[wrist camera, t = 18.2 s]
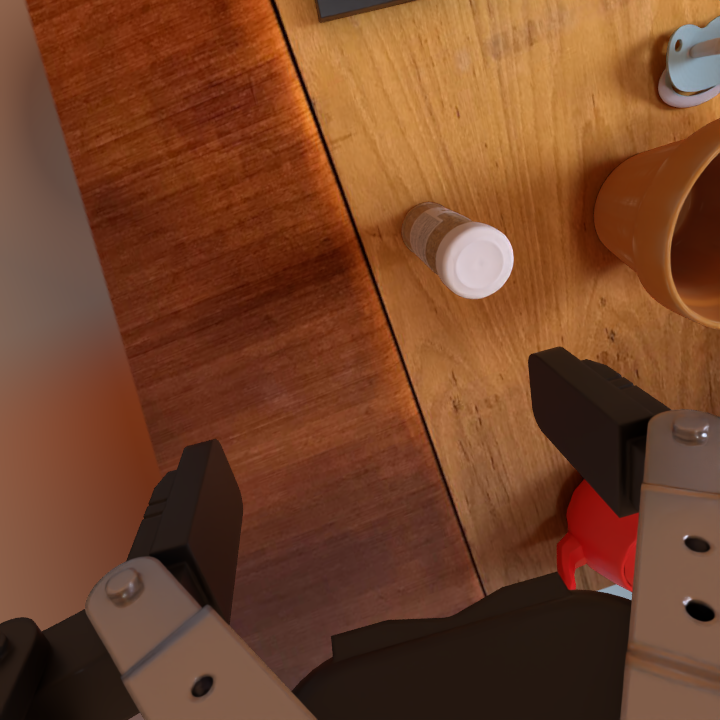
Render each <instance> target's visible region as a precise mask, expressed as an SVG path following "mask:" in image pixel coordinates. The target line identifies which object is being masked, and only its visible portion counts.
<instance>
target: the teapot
mask: <svg viewBox="0 0 720 720" xmlns="http://www.w3.org/2000/svg"><path fill="white" fill-rule="evenodd" d="M566 517H567V523H568V533H567V534H566V535H565V536H564V537H563V538H562V539H561V540H560V541H559V542H558V543H557V570H558V574H559V575H560V577H561V578H562V580H563V581H564V583H565V585H566V586H567V588H568V589H569V590H575V589H576V583H575V578H574V574H575V570H576V568H578V567H580V566H582V565H585V564H587V565H588V566H589V567H590V568H592V569H593V570H595V571H596V572H598V573H599V574H601V575H603V576H604V577H606V578H607V579H609V580H611V581H612V582H614V583H615V584H617V585H619V586H621V587H623V588H625V589H627V590H629V591H631V592H632V591H633V579H634V567H635V555H636V543H637V531H638V519H639V513H636V514H632V515H629V516H625V517H622V518H619V517H618V516H617V515H616V514H615V513H614V511H613V510H612V509H611V508H610V507H609V506H608V505H607V504H606V503H605V501H604V500H603V499H602V498H601V497H600V496H599V495H598V494H597V492H596V491H595V490H594V489H593V488H592V487H591V486H590V485H589V483H588V482H587V481H586V480H585V479H584V480H583V481H582V482H581V483H580V484H579V485H578V487H577V488H576V489H575V490H574V492H573V495H572V498H571V500H570V503H569V506H568V508H567V513H566Z"/></svg>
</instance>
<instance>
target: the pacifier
mask: <svg viewBox="0 0 720 720" xmlns="http://www.w3.org/2000/svg"><path fill="white" fill-rule="evenodd" d="M677 40H679V42H680V46H679V47H678V48H677V49H676V51H675V44H676V42H677ZM666 65H667V67H666V69H665V70H664V71H663V73H662V75H661V77H660V80H659V85H658V90H659V95H660V97H661V98H662V100H663V101H664V102H665V103H667V104H668V105H670V106H674V107H677V108H687V107H692V106H697V105H699V104H701V103H704V102H706V101H708V100H710V99H711V98H713V97H715V96H716V95H717V94H719V93H720V16H719V17H717V18H715V19H714V20H712V21H711V22H710V23H708V24H707V25H706V26H705V27H704V28H699V27H698V26H695V25H691V24H688V25H684V26H682V27H680V28H678V29H677V30H676V31H675V32H674V33H673V34H672V36H671V37H670V40H669V43H668V47H667V55H666ZM671 84H672V85H673V86H674V87H675V88H676V89H678V90H680V91H686V92H695V91H700V90H704V89H706V90H704V91H702V92H700V93H698V94H695V95H691V96H683V95H679V94H678V93H676V92H675V91H674V90H673V88H672V85H671Z"/></svg>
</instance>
